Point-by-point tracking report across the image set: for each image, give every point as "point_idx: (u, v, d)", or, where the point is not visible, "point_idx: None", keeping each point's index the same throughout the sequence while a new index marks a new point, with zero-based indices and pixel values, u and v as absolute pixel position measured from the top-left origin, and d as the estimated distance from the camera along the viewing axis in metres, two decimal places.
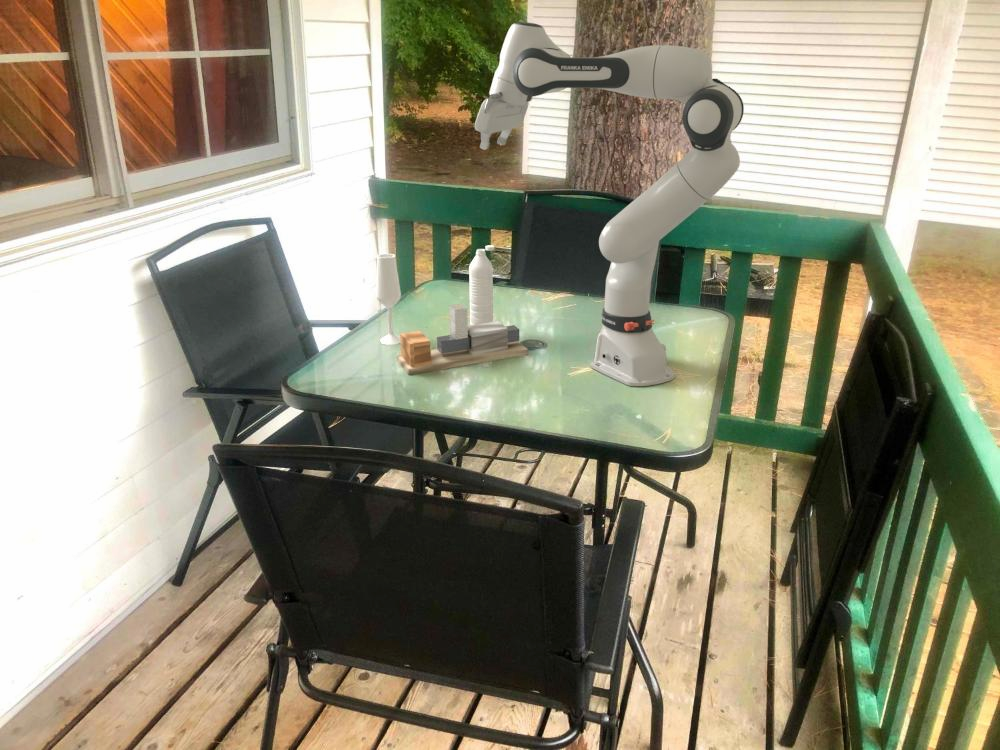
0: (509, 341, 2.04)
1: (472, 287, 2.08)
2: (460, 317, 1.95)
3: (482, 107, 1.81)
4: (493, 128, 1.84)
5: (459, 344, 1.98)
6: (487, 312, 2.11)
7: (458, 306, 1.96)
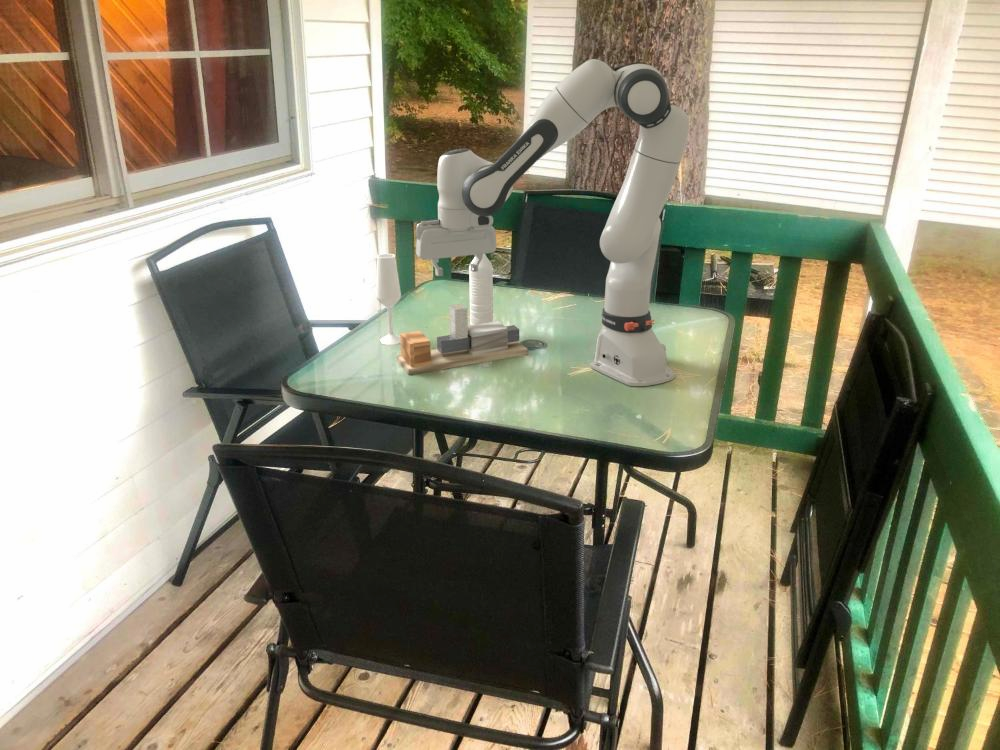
0: (509, 341, 2.04)
1: (472, 287, 2.08)
2: (460, 317, 1.95)
3: None
4: (434, 254, 1.86)
5: (459, 344, 1.98)
6: (487, 312, 2.11)
7: (458, 306, 1.96)
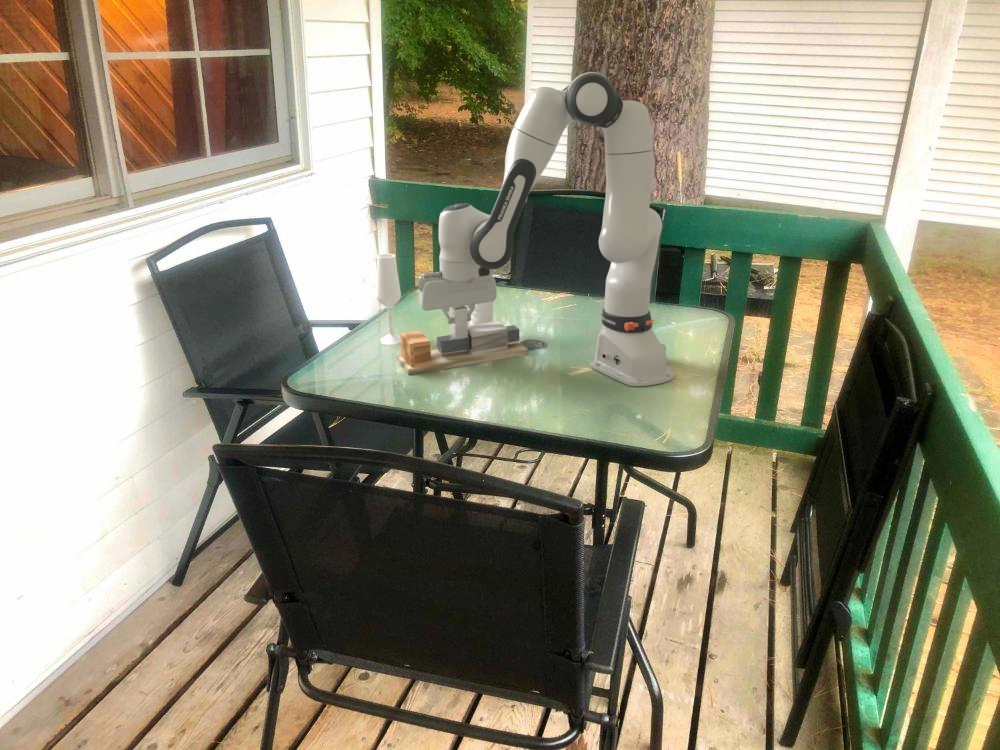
0: (509, 341, 2.04)
1: None
2: (460, 317, 1.95)
3: None
4: (436, 305, 1.91)
5: (459, 344, 1.98)
6: (487, 312, 2.11)
7: (458, 306, 1.96)
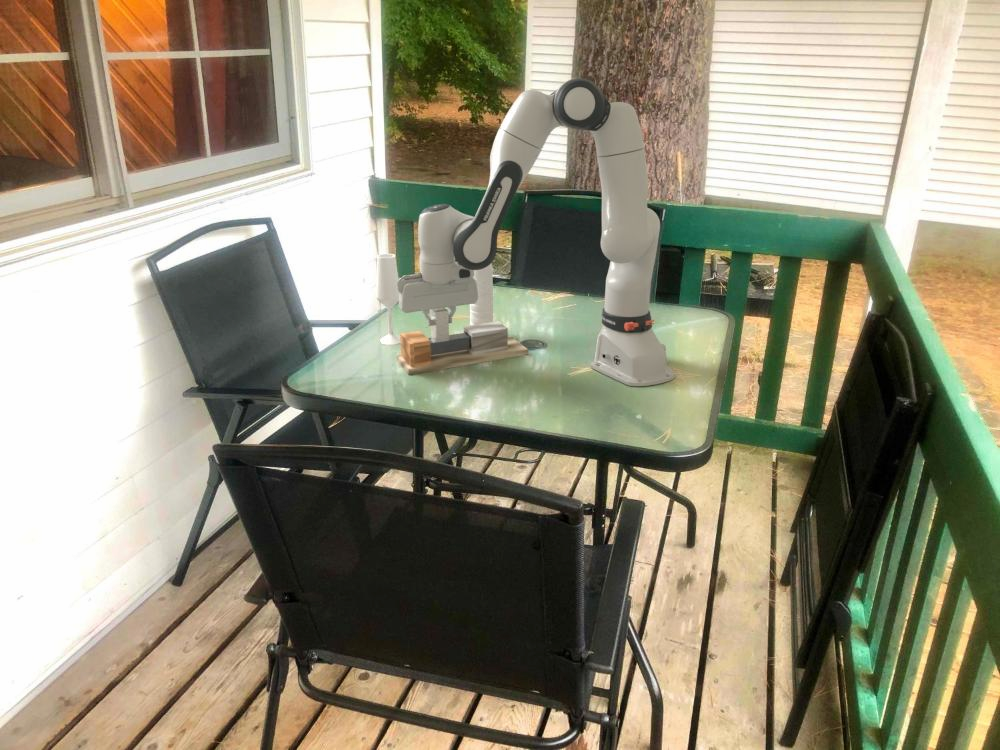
0: None
1: None
2: (441, 320, 1.93)
3: None
4: (416, 307, 1.89)
5: (440, 347, 1.96)
6: (487, 312, 2.11)
7: (439, 308, 1.95)
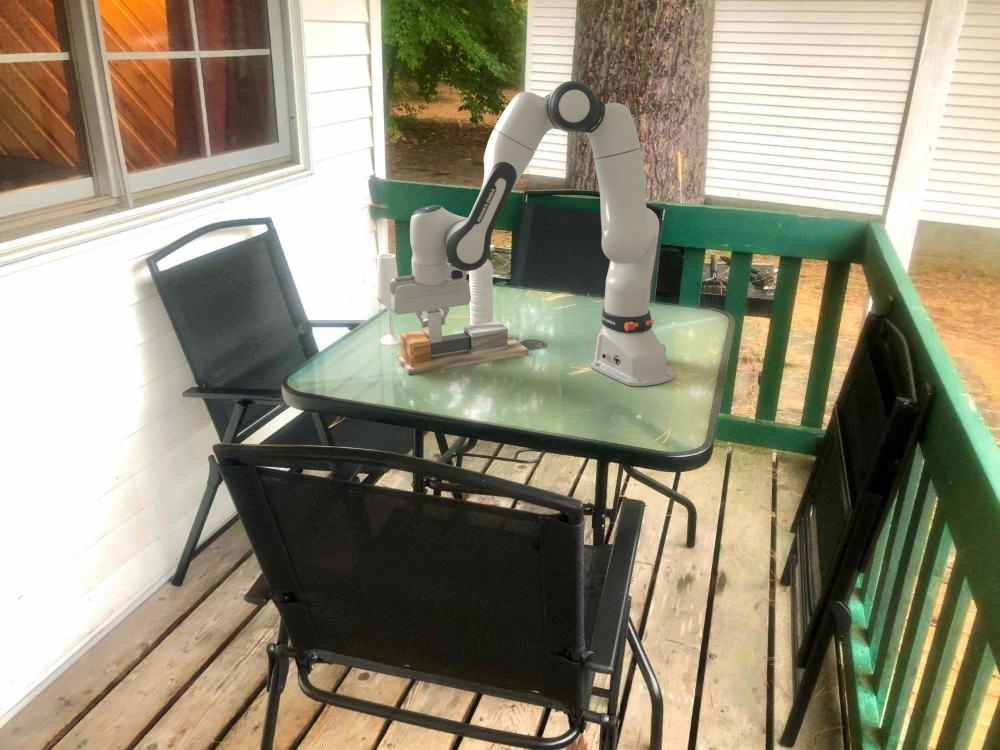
0: None
1: (472, 287, 2.08)
2: (434, 321, 1.93)
3: None
4: (408, 308, 1.89)
5: (433, 348, 1.96)
6: (487, 312, 2.11)
7: None
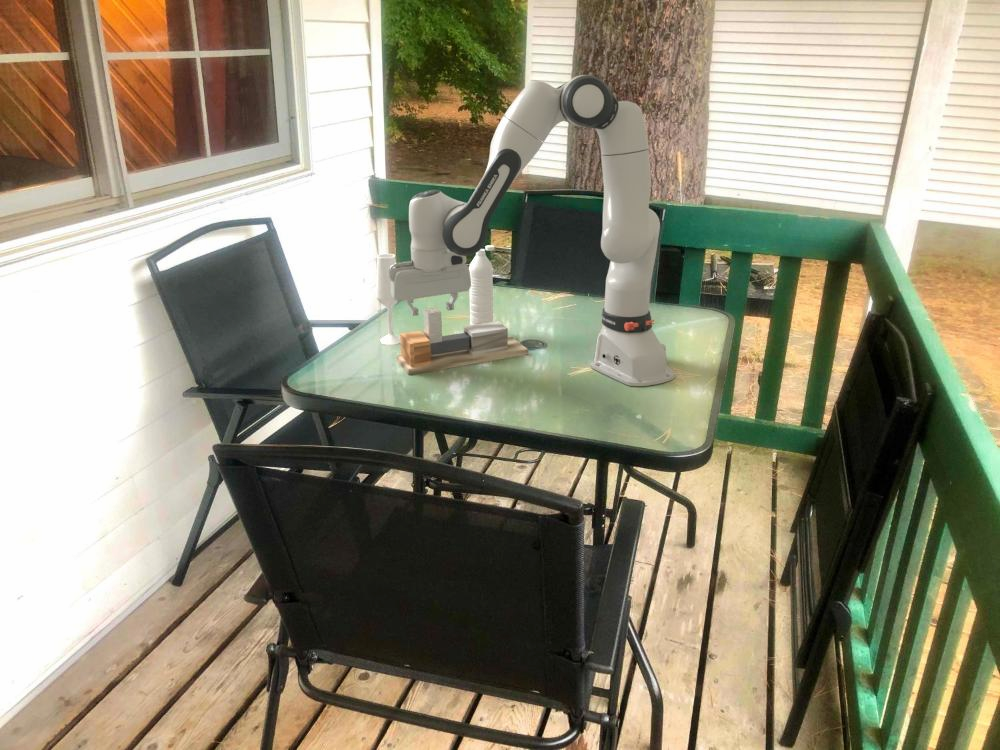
0: None
1: (472, 287, 2.08)
2: (434, 321, 1.93)
3: None
4: (408, 295, 1.87)
5: (433, 348, 1.96)
6: (487, 312, 2.11)
7: (432, 309, 1.94)
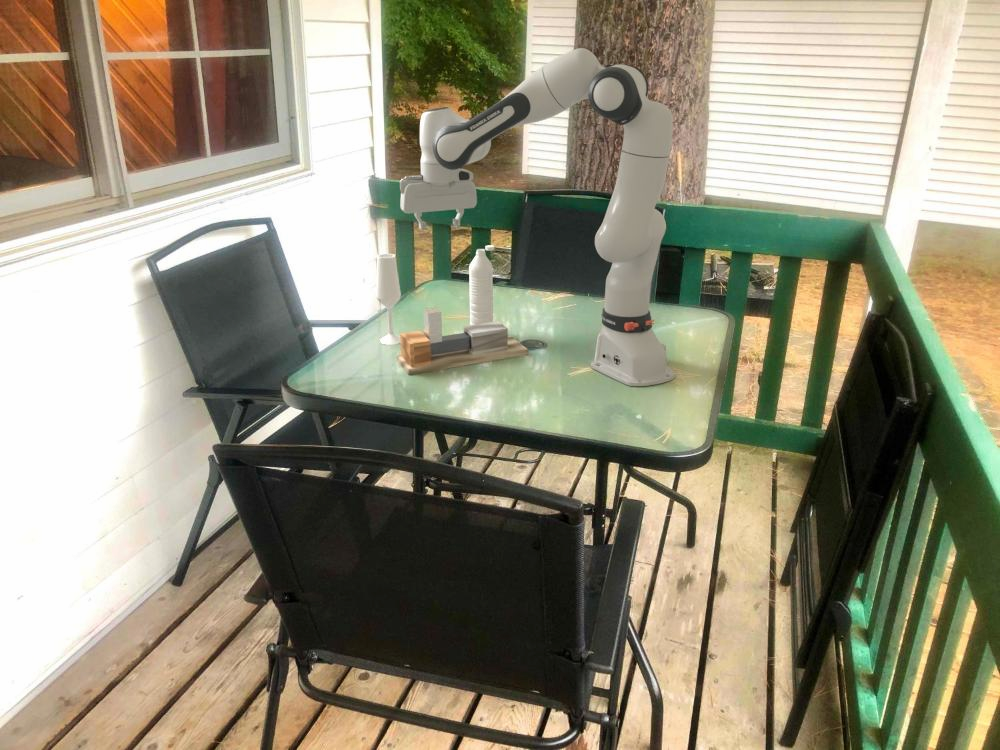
0: None
1: (472, 287, 2.08)
2: (434, 321, 1.93)
3: None
4: (417, 208, 1.97)
5: (433, 348, 1.96)
6: (487, 312, 2.11)
7: (432, 309, 1.94)
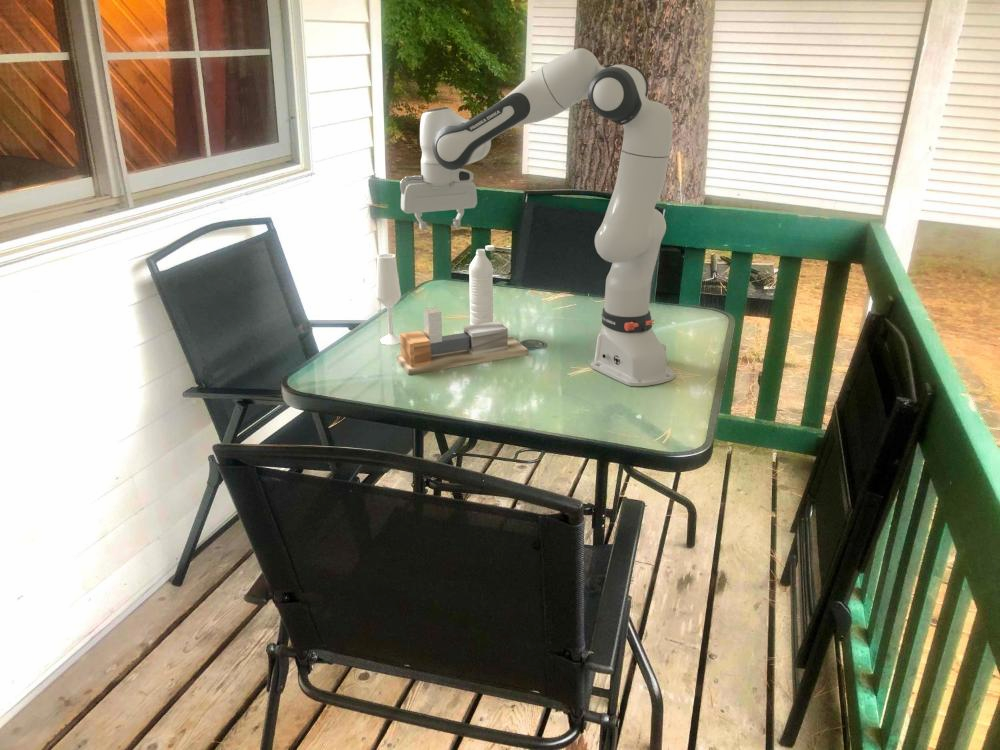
0: None
1: (472, 287, 2.08)
2: (434, 321, 1.93)
3: None
4: (417, 208, 1.97)
5: (433, 348, 1.96)
6: (487, 312, 2.11)
7: (432, 309, 1.94)
